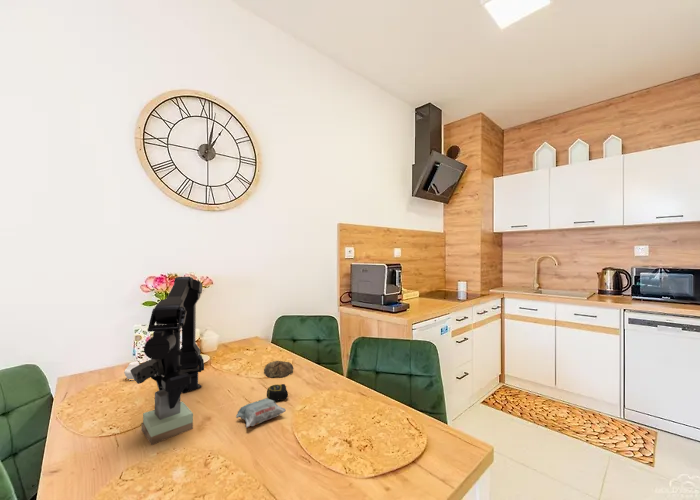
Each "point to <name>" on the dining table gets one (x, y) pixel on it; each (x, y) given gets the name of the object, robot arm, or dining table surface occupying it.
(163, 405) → the grey block
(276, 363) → the bread roll
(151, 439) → the bottom block
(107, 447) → the dining table surface
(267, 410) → the packaged food
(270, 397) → the tape measure
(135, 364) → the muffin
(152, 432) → the top block
